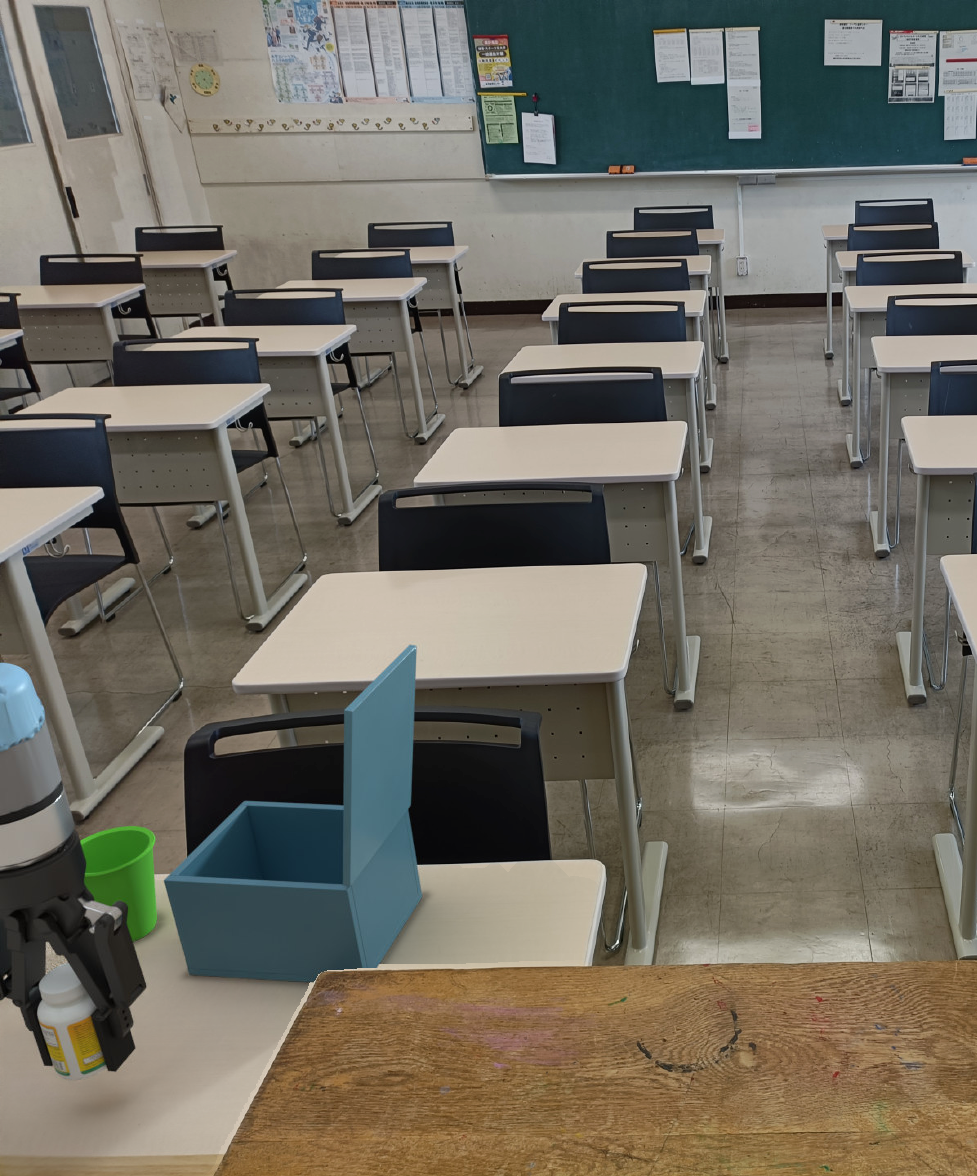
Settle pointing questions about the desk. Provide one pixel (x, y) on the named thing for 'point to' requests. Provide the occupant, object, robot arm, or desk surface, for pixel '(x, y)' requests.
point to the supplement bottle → (69, 1025)
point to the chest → (289, 895)
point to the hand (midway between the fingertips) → (90, 1056)
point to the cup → (123, 873)
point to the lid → (377, 762)
